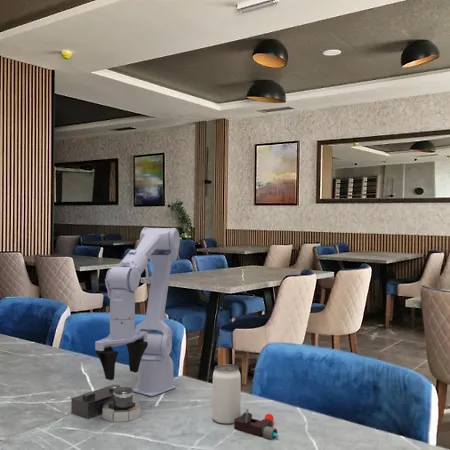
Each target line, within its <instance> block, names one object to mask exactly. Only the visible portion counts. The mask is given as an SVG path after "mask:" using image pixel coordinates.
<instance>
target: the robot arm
mask: <svg viewBox="0 0 450 450" xmlns="http://www.w3.org/2000/svg"><path fill="white" fill-rule="evenodd" d="M180 241H181V240H180V232H179V230H178V229H177V228H176V227H172V228H171V227H170V228H169V227H167V228H166V227H165V228H163V227H143V228H142V229H141V232H140V234H139V244H138V245H137V247H136V249H130V250H129V251H128V252H127V253H126V255H125V256H124V257H123V258H122V260H121V261H120V262H119V263H118V265H116V266H112V267H111V268H109V269H108V270H107V272H106V275H105V278H104V282H105V288H106V289H107V297H108V299H109V334H108V336H106V337H104V338H102V339H100V340H96V341H95V342H94V345H95V346H94V347H95V349H94V350H95V354H96V355H97V357H98V359H99V362H100V364H101V366H102V370H103V373H104V377H105V380H109V381H113V380H114V379H115V371H116V362H117V357H118V354H119V351H117V350H114V348H115V347H118V346H124V345H126V347H127V352H128V365H129V371H130V372H131V373H137V386H135V387H133V388H132V387H131V388H132V389H133V393H138V394H142V395H144V396H149V397H154V396H157V395H160V394H163V393H165V392H168V391H171V390H174V389H176V385H174V361H173V359H172V358H171V356H170V355H171V352H172V349H173V348H172V347H173V331H172V328H170V326H169V325H168V324H166V322H165V321H164V320H165V319H164V318H165V311H166V304H167V297H168V290H169V284H170V283H169V282H170V277H171V276H170V275H171V269H172V264H173V262H174V261H177V259H178V256H179V250H180V243H181V242H180ZM149 261H151V262H153V268H152V273H151V278H150V279H151V281H150V286H149V294H148V298H147V306H146V313H145V319H144V320H142V321H141V322H140V323H138V324H137V325H136V323H135V321H136V319H135V318H136V316H135V315H136V314H135V313H136V312H135V310H136V309H135V308H136V302H135V301H136V296H135V295H136V291H137V290H138V289H139V286H140V281H141V278H142V276H141V275H142V273H144V271H145V269H146V268H147V266H148V263H149Z"/></svg>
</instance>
